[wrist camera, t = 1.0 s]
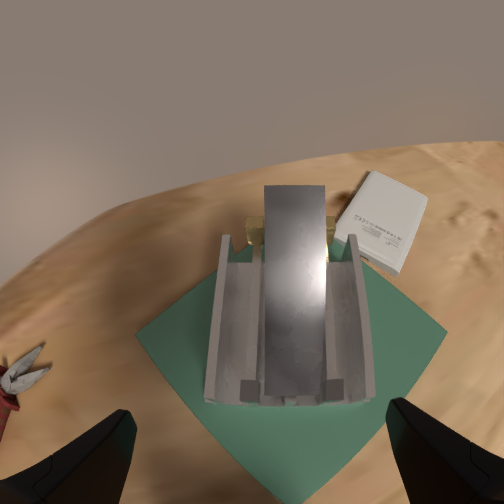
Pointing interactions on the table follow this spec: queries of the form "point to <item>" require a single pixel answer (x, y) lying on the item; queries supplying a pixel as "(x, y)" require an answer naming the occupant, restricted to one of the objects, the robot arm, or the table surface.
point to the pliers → (16, 384)
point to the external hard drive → (382, 221)
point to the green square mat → (294, 418)
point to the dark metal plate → (294, 289)
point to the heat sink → (253, 330)
